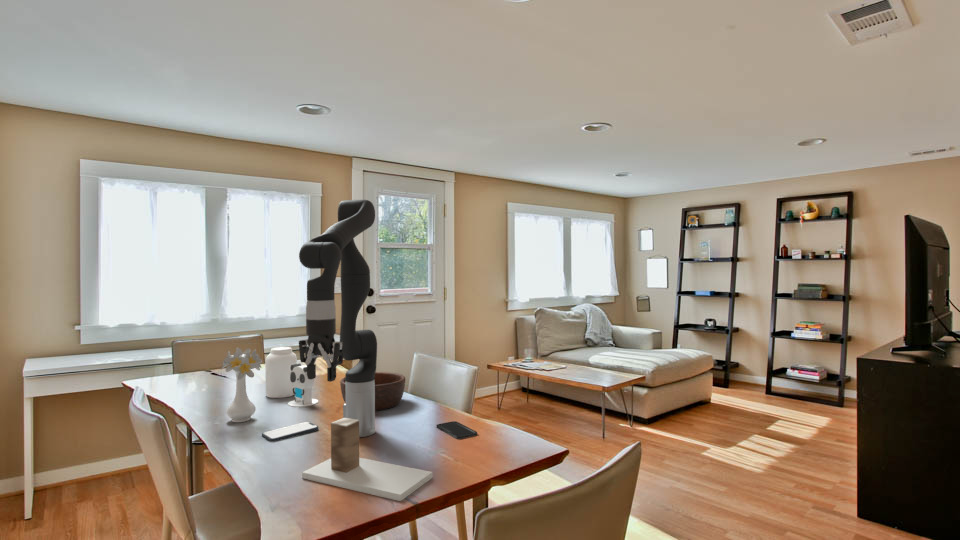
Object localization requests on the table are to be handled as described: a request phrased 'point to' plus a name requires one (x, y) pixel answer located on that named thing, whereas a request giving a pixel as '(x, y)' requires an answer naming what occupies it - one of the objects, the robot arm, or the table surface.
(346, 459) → the walnut block
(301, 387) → the panda figurine
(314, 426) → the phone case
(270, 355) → the white jar
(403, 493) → the white board
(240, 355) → the flower vase
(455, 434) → the phone
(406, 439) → the table surface
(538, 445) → the table surface
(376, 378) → the wooden bowl
